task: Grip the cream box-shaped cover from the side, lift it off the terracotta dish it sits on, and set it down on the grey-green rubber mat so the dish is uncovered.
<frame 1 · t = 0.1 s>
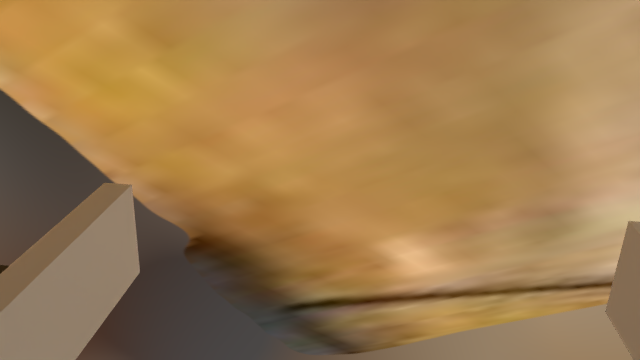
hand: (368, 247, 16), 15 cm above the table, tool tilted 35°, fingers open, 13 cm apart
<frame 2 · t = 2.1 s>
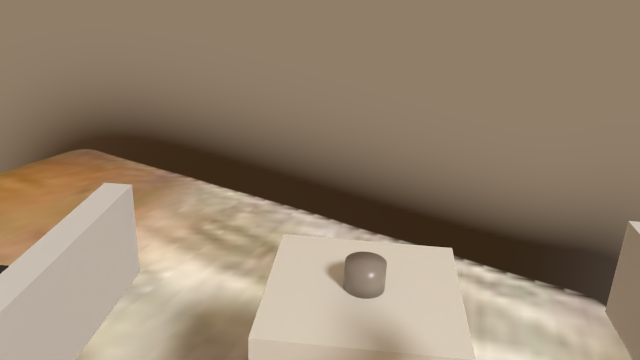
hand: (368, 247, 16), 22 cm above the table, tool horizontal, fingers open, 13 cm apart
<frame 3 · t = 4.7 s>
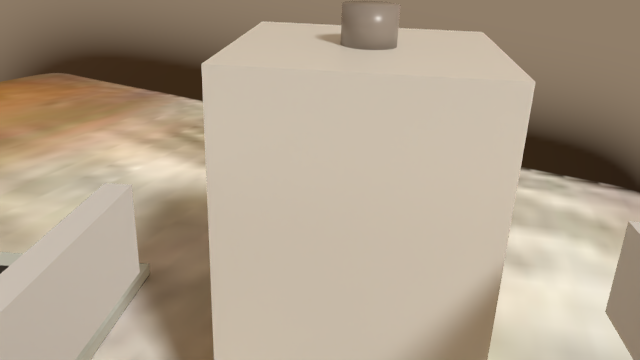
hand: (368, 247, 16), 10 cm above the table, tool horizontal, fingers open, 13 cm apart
cover: (351, 318, 26), point 2 cm above the table, touching dish
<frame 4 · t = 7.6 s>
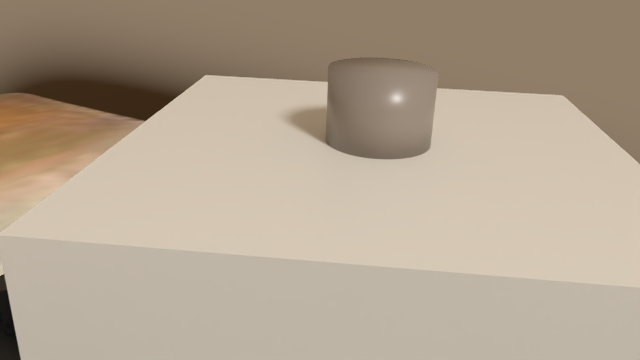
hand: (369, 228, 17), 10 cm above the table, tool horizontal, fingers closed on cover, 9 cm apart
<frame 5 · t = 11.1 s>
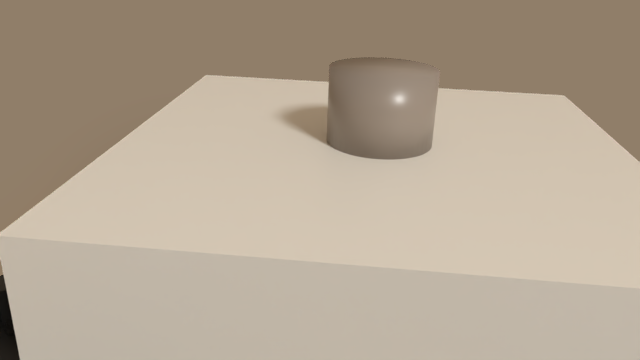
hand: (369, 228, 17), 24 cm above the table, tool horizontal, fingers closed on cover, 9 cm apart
when the fingers open (9 cm above the table, at t = 14.7 s): cover drops 1 cm, resting on mat.
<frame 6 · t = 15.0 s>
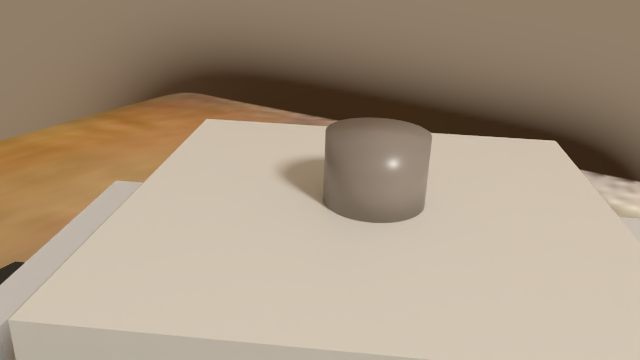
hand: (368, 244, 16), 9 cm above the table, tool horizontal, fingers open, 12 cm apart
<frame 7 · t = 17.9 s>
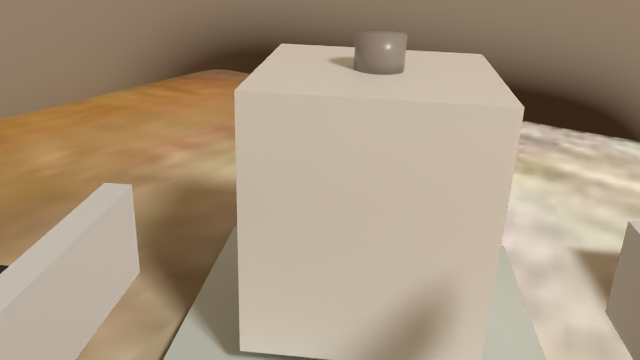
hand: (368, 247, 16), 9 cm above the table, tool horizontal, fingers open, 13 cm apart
cover: (361, 313, 28), point 1 cm above the table, touching mat
mat: (360, 323, 28), on the table
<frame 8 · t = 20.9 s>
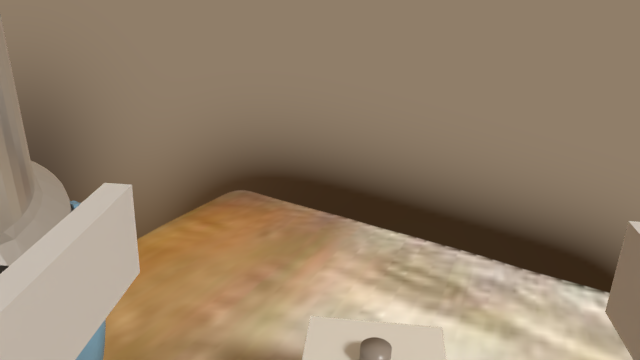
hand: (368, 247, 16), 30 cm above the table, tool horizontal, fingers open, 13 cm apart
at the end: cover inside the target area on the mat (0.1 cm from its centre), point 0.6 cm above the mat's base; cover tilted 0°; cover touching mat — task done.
